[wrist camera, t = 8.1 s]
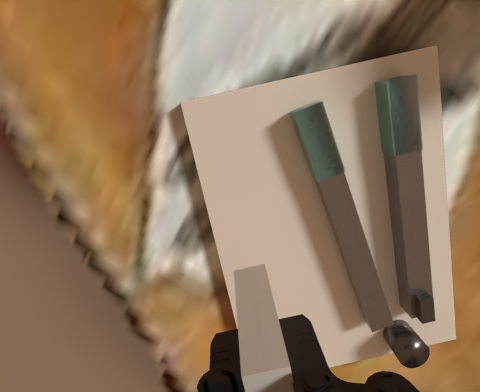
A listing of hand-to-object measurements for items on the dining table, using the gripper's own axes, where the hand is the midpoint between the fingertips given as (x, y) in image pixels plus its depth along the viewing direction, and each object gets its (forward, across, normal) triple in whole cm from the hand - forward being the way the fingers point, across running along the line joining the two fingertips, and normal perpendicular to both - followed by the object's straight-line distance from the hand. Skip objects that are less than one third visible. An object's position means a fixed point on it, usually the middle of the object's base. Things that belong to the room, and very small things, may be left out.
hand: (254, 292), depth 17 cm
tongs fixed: (+11, +11, -3) cm, 16 cm away
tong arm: (+10, +7, -2) cm, 12 cm away
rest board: (+12, +7, -3) cm, 14 cm away
